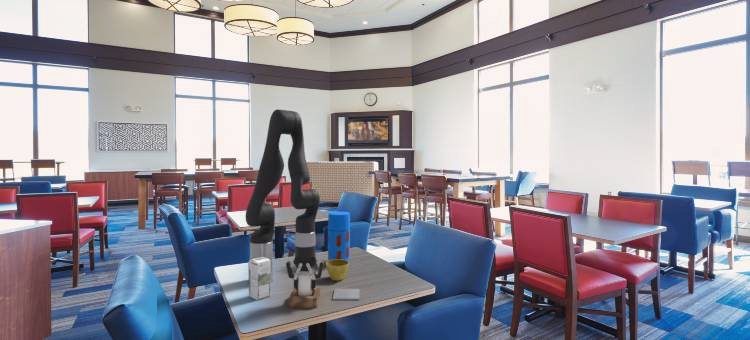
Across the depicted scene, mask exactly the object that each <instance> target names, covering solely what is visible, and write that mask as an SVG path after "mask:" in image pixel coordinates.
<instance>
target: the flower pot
mask: <svg viewBox="0 0 750 340" xmlns="http://www.w3.org/2000/svg"><path fill="white" fill-rule="evenodd" d="M349 265H350V261H349V262H348V261H346V260H341V259H335V260H329V261H328V260H327V261H326V262H325V266H326V270H327V274H328V275H329V277H330V279H331V280H332V281H341V280H343V279H344V278H345V277H346V275H347V271H348V269H349Z"/></svg>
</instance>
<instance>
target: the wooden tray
mask: <svg viewBox="0 0 750 340" xmlns="http://www.w3.org/2000/svg"><path fill="white" fill-rule="evenodd" d="M320 299H321V288H320V287H315V288H314V290H312V296H298V290H296V289H295V288H294V287H293V289H292V291H291V293H290V294H289V296H288V308H289V309H290V308H297V309H298V308H304V309H305V308H307V309H308V308H309V309H310V308H314V309H315V308H317V309H318V305H319V302H320Z"/></svg>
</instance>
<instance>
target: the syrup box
mask: <svg viewBox="0 0 750 340" xmlns="http://www.w3.org/2000/svg"><path fill="white" fill-rule="evenodd" d="M270 265H271V260H269V259H267V258H265V257H260V258H256V259H252V260H250V259H249V260H248V296H249V298H252V299H253V300H256V301H259V300H263V299H265V298H268V297H270V296H271V282H270Z"/></svg>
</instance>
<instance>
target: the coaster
mask: <svg viewBox="0 0 750 340" xmlns="http://www.w3.org/2000/svg"><path fill="white" fill-rule="evenodd" d="M360 290H361V289H360V288H334V289H333V291H334V292H333V296H332V300H333V301H360V293H361V292H360Z"/></svg>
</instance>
